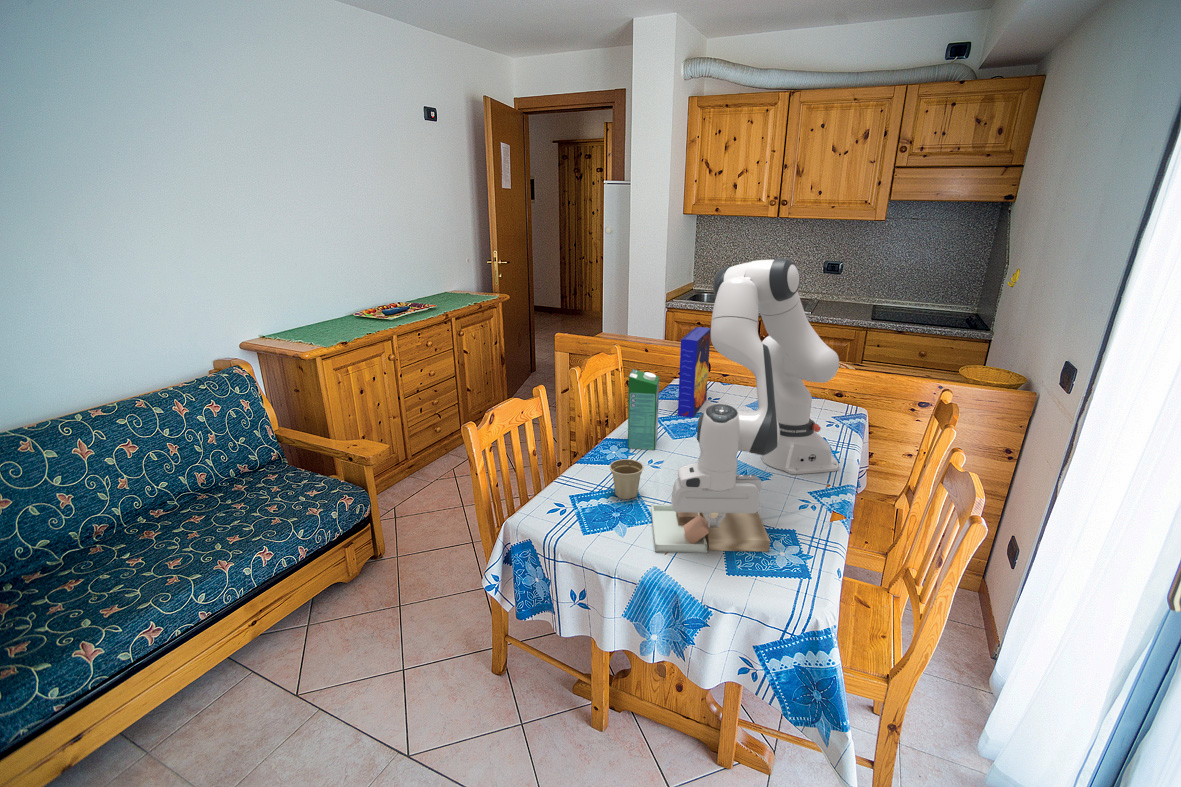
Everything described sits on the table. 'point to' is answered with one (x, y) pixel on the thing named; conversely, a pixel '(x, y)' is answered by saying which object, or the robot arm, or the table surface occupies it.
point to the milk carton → (643, 410)
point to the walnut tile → (685, 517)
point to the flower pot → (626, 477)
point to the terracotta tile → (696, 529)
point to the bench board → (738, 533)
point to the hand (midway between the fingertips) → (713, 526)
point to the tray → (672, 532)
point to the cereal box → (693, 371)
